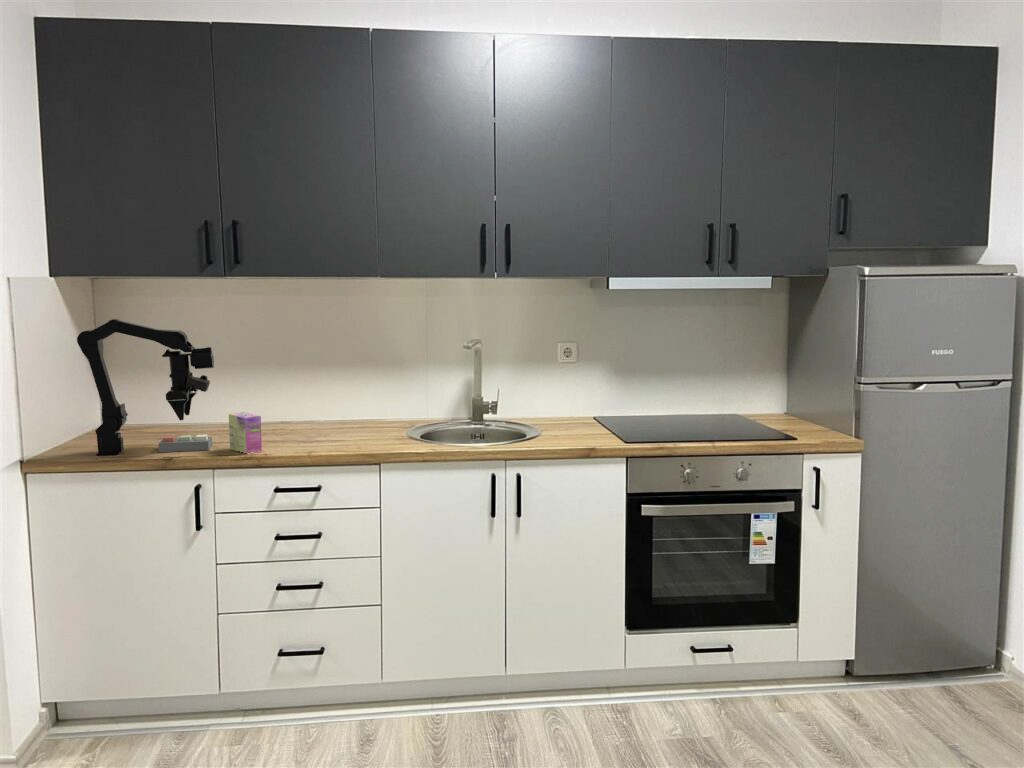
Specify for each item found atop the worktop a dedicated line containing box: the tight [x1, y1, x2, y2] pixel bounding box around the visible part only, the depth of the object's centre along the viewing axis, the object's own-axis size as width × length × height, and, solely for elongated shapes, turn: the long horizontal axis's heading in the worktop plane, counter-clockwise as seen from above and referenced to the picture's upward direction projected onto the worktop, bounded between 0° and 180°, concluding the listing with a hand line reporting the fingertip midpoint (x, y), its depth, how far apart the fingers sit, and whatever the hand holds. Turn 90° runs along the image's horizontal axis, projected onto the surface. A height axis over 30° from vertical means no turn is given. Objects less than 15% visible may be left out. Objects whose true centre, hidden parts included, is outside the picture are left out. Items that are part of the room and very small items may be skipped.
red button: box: [162, 435, 177, 442], centre depth 254 cm, size 3×3×2 cm
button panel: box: [157, 436, 213, 453], centre depth 256 cm, size 15×8×3 cm, turn 101°
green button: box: [178, 434, 193, 441], centre depth 255 cm, size 3×3×2 cm
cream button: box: [195, 434, 209, 441], centre depth 256 cm, size 3×3×2 cm
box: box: [228, 411, 263, 454], centre depth 252 cm, size 10×6×12 cm, turn 48°
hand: (184, 417), depth 254 cm, fingers open, 9 cm apart
